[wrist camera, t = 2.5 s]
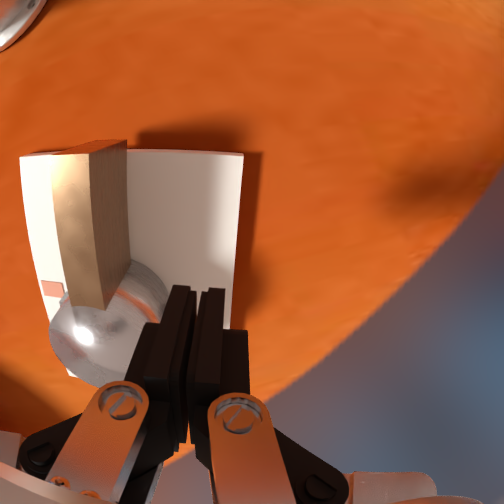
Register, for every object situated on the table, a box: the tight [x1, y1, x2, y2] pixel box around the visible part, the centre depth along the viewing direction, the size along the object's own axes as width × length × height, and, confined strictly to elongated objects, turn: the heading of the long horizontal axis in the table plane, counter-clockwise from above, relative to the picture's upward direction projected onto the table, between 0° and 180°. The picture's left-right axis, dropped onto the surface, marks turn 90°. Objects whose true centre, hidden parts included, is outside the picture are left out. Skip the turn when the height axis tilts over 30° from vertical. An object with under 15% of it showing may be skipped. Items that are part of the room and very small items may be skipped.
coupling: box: [49, 140, 169, 388], centre depth 20 cm, size 17×10×7 cm, turn 175°
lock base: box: [20, 149, 244, 377], centre depth 26 cm, size 24×18×2 cm
